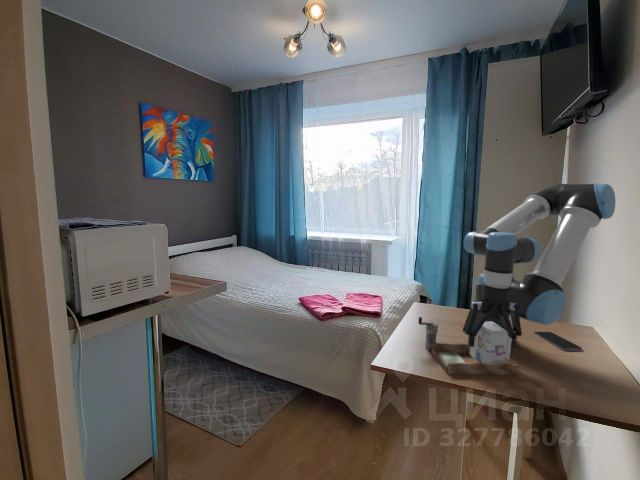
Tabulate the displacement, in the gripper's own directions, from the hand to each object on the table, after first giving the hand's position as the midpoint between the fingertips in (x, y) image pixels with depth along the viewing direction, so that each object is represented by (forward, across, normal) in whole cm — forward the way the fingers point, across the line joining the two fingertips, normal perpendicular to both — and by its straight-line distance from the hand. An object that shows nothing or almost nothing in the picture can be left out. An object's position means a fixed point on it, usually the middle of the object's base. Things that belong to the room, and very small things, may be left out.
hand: (489, 356), depth 103 cm
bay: (+2, +7, -2) cm, 8 cm away
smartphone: (+3, -33, -17) cm, 37 cm away
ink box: (+2, 0, 0) cm, 2 cm away
